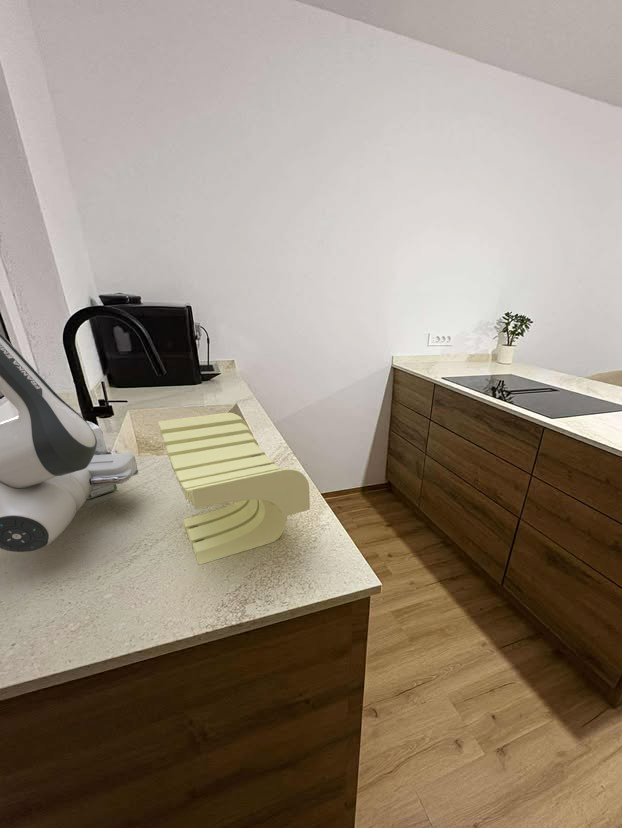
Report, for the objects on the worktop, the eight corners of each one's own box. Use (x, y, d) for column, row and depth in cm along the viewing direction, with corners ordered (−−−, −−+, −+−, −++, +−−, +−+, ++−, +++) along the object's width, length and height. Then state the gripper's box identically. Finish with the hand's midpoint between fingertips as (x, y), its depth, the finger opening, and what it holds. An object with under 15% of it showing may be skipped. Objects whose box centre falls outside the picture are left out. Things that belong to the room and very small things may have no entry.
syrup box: (105, 482, 86) (86, 419, 79) (118, 490, 83) (100, 425, 76) (76, 492, 82) (54, 426, 75) (89, 500, 79) (67, 432, 72)
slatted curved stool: (311, 562, 64) (308, 465, 56) (211, 597, 56) (192, 490, 48) (252, 487, 86) (244, 410, 78) (175, 505, 78) (158, 421, 70)
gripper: (123, 464, 69) (140, 437, 80) (-16, 473, 63) (24, 443, 75) (131, 495, 72) (147, 464, 83) (-1, 506, 66) (35, 472, 78)
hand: (88, 454), depth 79 cm, fingers closed on syrup box, 8 cm apart
